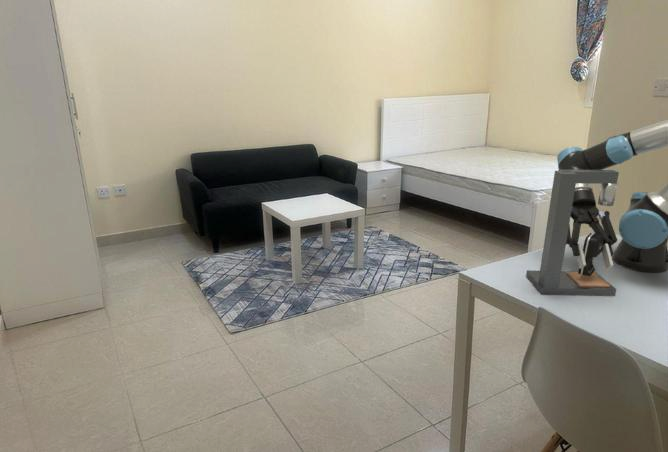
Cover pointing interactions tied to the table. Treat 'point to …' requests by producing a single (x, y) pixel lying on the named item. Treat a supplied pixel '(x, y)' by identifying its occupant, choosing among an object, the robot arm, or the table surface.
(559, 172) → the arbor press
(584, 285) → the pad
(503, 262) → the table surface
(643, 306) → the table surface
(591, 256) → the battery charger
